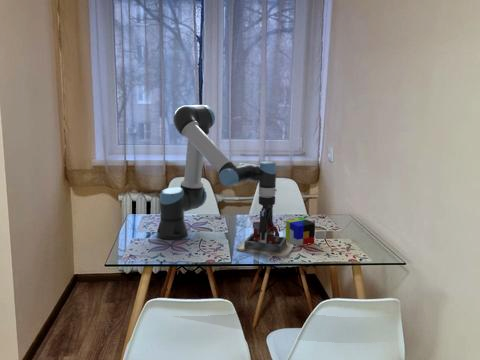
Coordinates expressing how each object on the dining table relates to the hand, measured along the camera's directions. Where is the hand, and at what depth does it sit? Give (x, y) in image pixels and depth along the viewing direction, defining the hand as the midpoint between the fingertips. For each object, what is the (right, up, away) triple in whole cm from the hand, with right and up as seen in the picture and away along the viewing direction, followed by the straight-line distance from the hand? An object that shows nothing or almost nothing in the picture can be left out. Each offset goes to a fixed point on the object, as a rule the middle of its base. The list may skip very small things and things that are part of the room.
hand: (265, 243), depth 207 cm
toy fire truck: (0, -1, 0) cm, 1 cm away
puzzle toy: (+17, -1, +11) cm, 20 cm away
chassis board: (0, -3, +1) cm, 3 cm away
